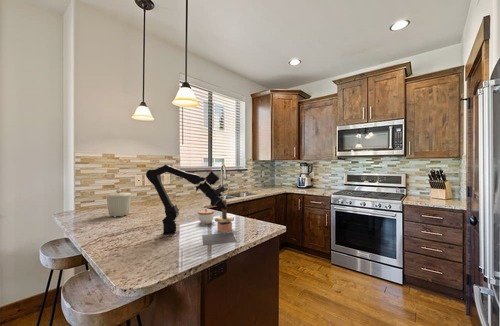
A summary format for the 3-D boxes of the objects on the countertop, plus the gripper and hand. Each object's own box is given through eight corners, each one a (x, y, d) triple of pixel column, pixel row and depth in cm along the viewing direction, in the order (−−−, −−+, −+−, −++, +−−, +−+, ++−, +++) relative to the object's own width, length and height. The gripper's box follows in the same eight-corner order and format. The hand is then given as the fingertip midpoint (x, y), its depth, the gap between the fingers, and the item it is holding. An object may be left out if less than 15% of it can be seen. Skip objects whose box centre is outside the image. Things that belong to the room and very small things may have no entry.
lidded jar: (210, 225, 144) (210, 210, 144) (195, 224, 146) (195, 210, 146) (216, 221, 155) (216, 207, 155) (202, 220, 157) (201, 207, 157)
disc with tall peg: (221, 223, 124) (221, 202, 124) (211, 219, 133) (210, 199, 133) (237, 220, 132) (237, 200, 132) (226, 216, 141) (226, 197, 141)
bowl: (218, 232, 127) (218, 225, 127) (217, 228, 135) (216, 221, 136) (232, 231, 129) (232, 224, 129) (230, 227, 138) (230, 220, 138)
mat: (203, 246, 107) (203, 245, 107) (202, 235, 122) (202, 235, 122) (237, 242, 111) (237, 242, 111) (232, 233, 126) (232, 232, 126)
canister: (133, 216, 172) (133, 189, 172) (105, 219, 162) (105, 191, 162) (130, 212, 187) (130, 187, 187) (105, 215, 177) (105, 189, 177)
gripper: (216, 182, 123) (236, 201, 124) (218, 179, 142) (235, 196, 142) (202, 196, 122) (222, 216, 123) (206, 192, 141) (223, 209, 142)
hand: (226, 208), depth 133 cm, fingers closed on disc with tall peg, 3 cm apart
